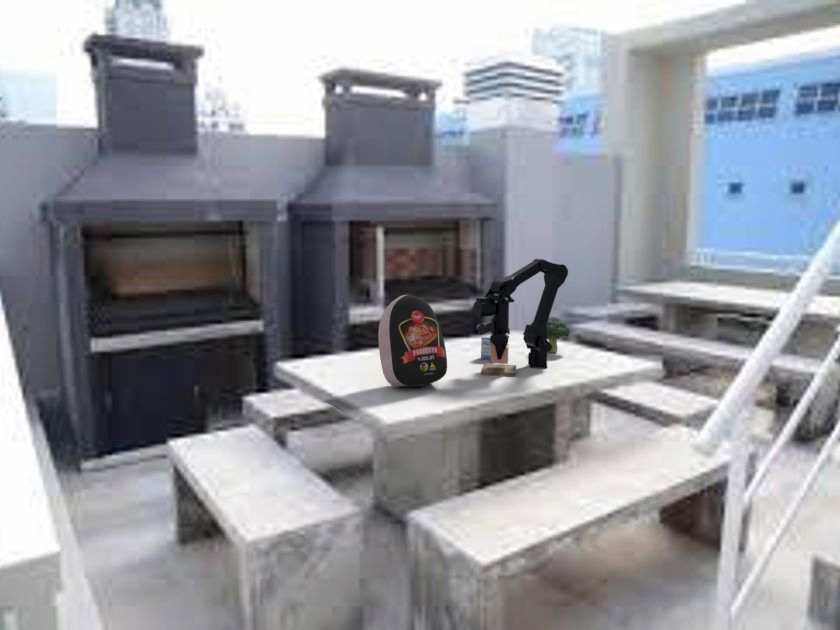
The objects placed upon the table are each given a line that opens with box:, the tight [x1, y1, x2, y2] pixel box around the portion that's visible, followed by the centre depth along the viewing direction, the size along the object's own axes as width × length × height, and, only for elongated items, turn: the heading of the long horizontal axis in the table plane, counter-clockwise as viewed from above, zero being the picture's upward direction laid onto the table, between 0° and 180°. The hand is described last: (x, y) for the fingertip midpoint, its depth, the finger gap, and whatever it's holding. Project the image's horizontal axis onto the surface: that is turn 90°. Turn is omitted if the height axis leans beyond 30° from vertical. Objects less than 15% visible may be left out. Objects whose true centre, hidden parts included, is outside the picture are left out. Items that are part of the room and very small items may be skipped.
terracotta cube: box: [490, 343, 510, 365], centre depth 247 cm, size 6×6×6 cm
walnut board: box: [481, 363, 517, 377], centre depth 248 cm, size 12×12×1 cm
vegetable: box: [546, 316, 571, 353], centre depth 279 cm, size 12×13×15 cm
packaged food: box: [377, 294, 448, 387], centre depth 227 cm, size 22×20×30 cm
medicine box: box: [480, 335, 492, 361], centre depth 268 cm, size 8×4×9 cm, turn 73°
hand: (499, 357), depth 248 cm, fingers closed on terracotta cube, 6 cm apart
